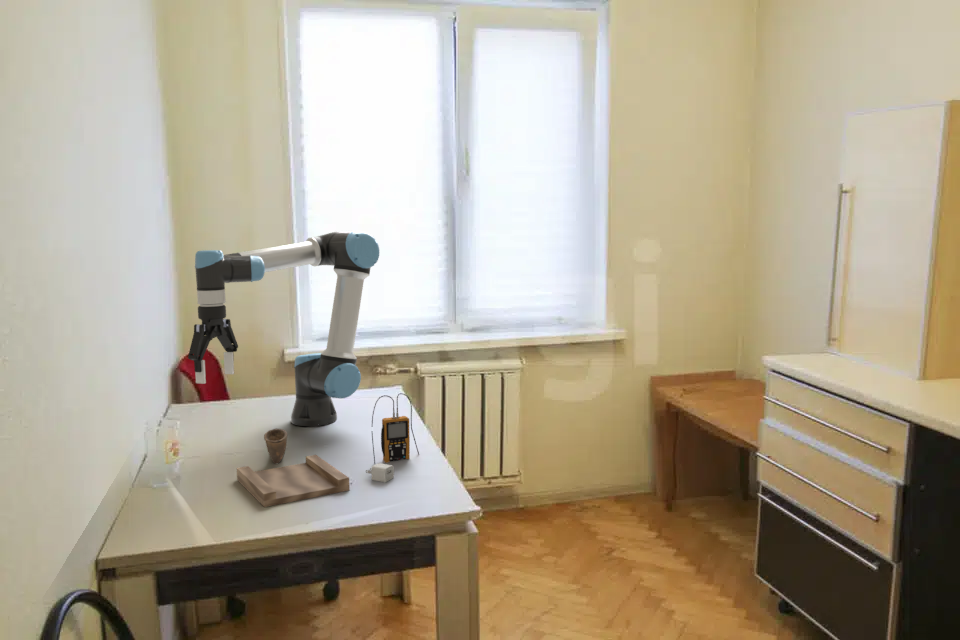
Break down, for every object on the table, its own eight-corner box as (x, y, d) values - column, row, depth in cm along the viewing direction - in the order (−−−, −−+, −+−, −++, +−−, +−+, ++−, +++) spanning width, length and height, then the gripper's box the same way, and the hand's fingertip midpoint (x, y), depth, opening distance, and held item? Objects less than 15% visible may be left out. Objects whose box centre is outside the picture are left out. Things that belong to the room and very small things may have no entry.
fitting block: (316, 466, 216) (315, 454, 215) (349, 490, 196) (349, 477, 195) (237, 480, 204) (236, 468, 204) (264, 507, 184) (263, 493, 183)
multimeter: (380, 474, 208) (378, 402, 206) (370, 464, 217) (368, 395, 215) (431, 467, 214) (430, 397, 211) (419, 458, 223) (418, 390, 221)
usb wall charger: (385, 483, 201) (384, 468, 200) (363, 479, 204) (363, 465, 204) (393, 479, 204) (393, 464, 204) (372, 475, 208) (372, 461, 207)
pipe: (291, 450, 231) (290, 418, 230) (287, 467, 215) (286, 432, 214) (269, 452, 230) (268, 419, 229) (264, 468, 214) (262, 434, 212)
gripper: (225, 300, 229) (229, 369, 232) (171, 309, 206) (176, 386, 208) (247, 300, 227) (251, 370, 230) (195, 309, 204) (199, 388, 206)
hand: (215, 378), depth 219 cm, fingers open, 13 cm apart
